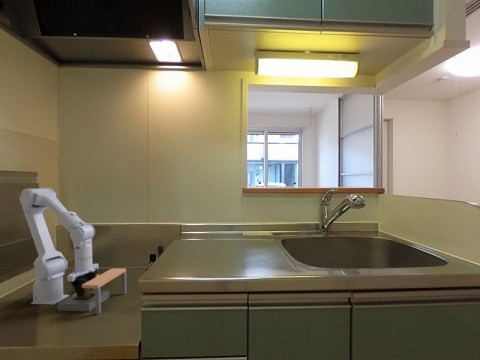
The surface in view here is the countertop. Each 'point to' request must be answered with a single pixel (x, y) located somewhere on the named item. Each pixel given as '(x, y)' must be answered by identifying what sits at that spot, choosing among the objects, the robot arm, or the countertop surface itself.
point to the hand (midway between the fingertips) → (84, 293)
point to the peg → (86, 293)
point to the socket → (81, 302)
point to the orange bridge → (103, 280)
